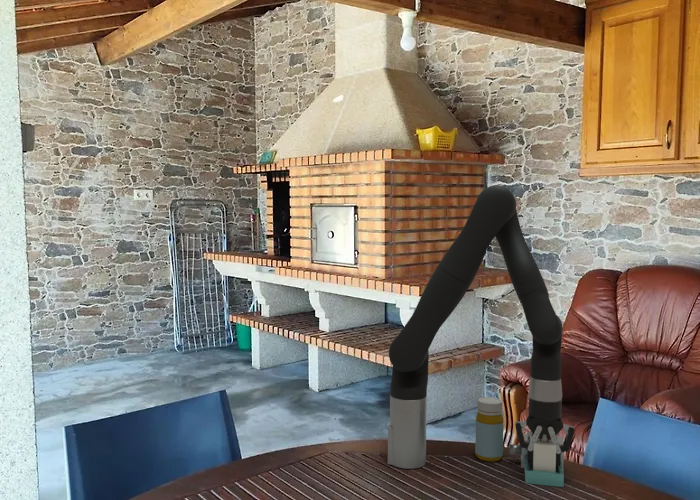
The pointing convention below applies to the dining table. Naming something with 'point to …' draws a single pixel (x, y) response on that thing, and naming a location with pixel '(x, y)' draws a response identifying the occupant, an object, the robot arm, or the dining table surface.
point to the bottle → (489, 429)
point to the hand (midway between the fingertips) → (543, 465)
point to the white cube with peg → (544, 455)
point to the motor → (538, 475)
